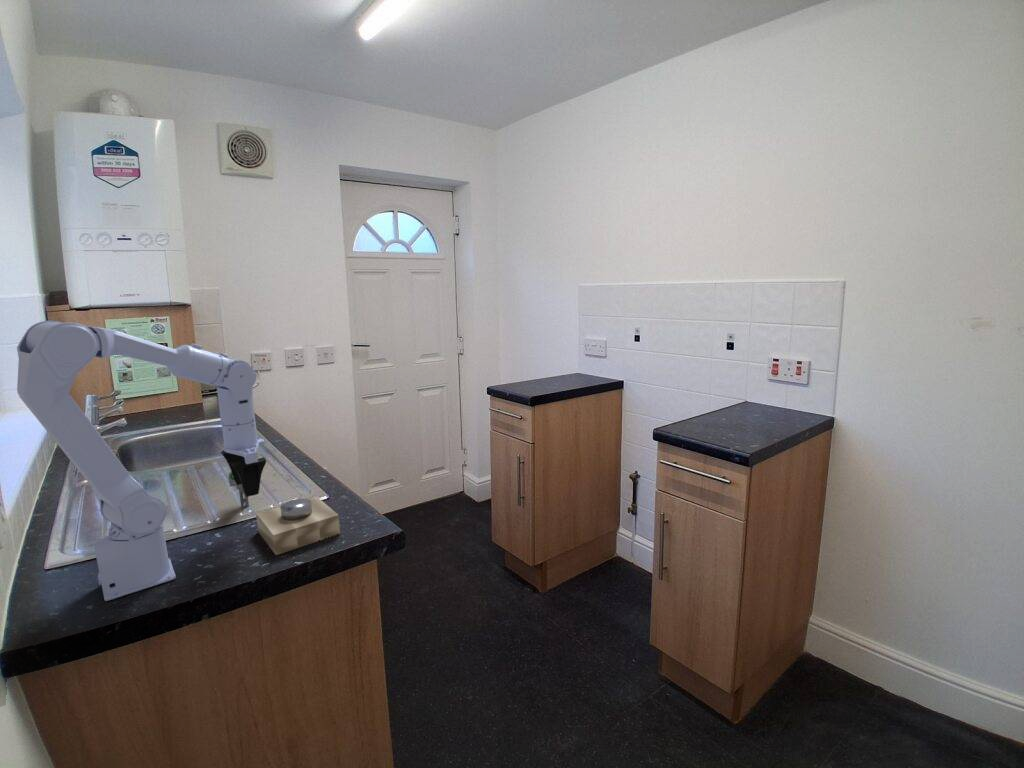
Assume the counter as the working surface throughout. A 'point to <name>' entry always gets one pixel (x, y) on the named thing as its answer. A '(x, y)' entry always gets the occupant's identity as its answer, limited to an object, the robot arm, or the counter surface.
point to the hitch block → (297, 527)
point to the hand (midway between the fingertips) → (247, 489)
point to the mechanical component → (241, 491)
